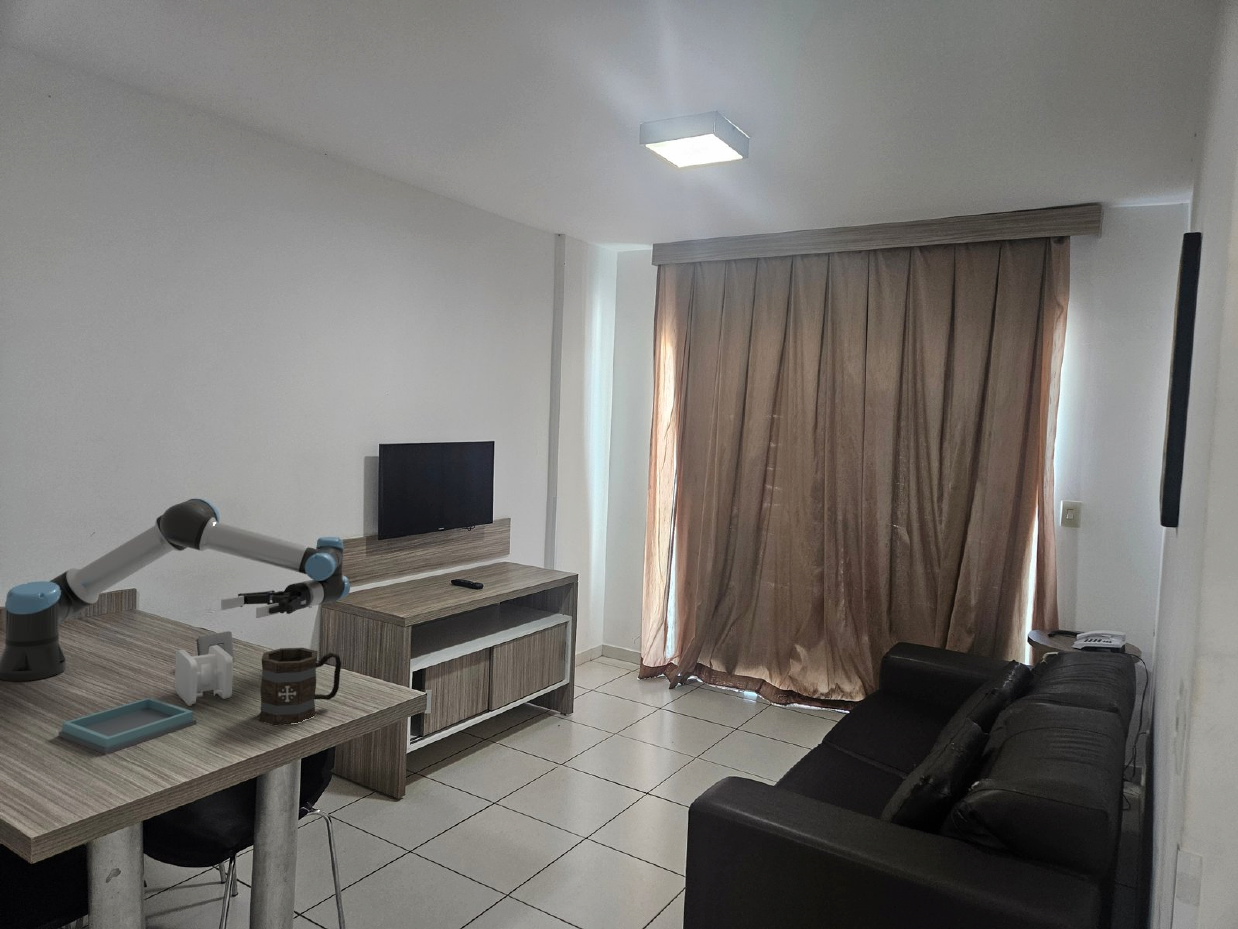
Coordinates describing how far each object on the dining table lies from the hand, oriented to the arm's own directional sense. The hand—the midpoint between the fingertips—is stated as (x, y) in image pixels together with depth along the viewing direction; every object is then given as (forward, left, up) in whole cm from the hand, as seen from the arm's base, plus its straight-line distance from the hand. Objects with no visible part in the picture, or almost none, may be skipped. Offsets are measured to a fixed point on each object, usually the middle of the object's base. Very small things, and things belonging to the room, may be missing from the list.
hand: (239, 608), depth 215 cm
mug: (+28, -4, -21) cm, 35 cm away
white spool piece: (0, -10, -21) cm, 23 cm away
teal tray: (+6, -33, -21) cm, 39 cm away
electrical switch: (-20, +8, -21) cm, 30 cm away
